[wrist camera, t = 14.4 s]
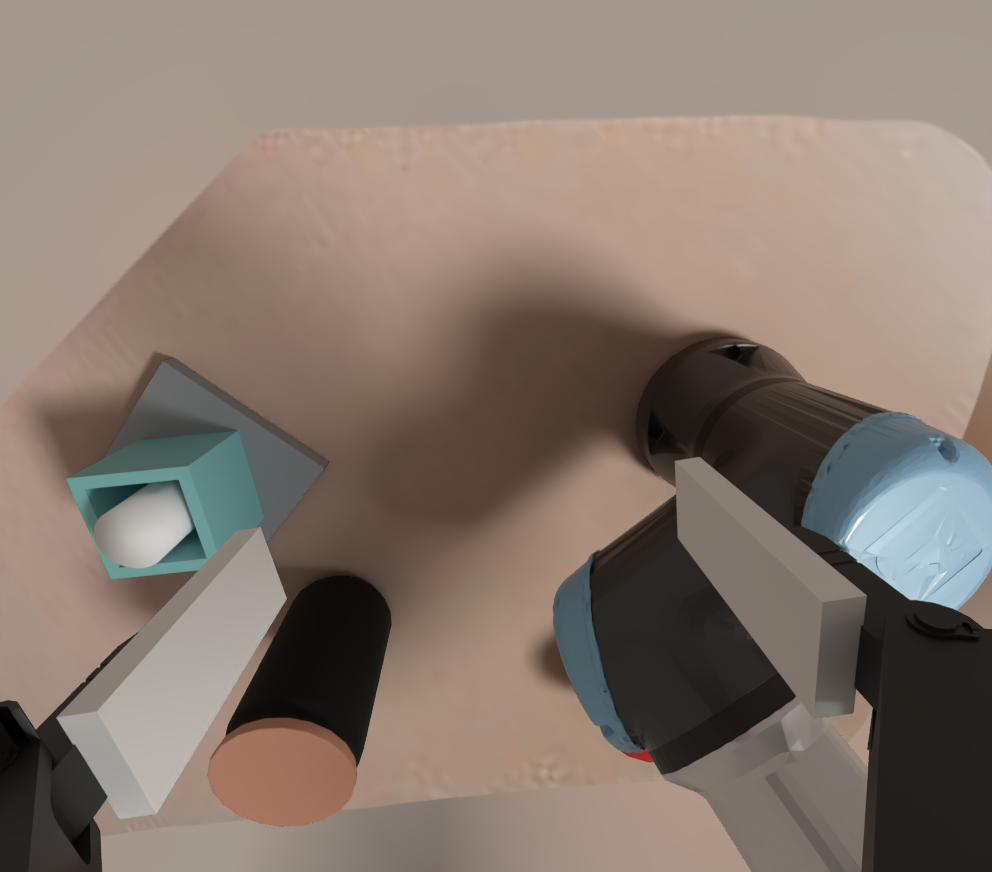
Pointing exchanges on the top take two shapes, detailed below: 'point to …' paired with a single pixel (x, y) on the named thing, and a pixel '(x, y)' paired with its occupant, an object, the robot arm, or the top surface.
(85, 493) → the teal storage bin
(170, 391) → the grey square base plate
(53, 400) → the top surface
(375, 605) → the coffee jar
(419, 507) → the top surface
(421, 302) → the top surface
